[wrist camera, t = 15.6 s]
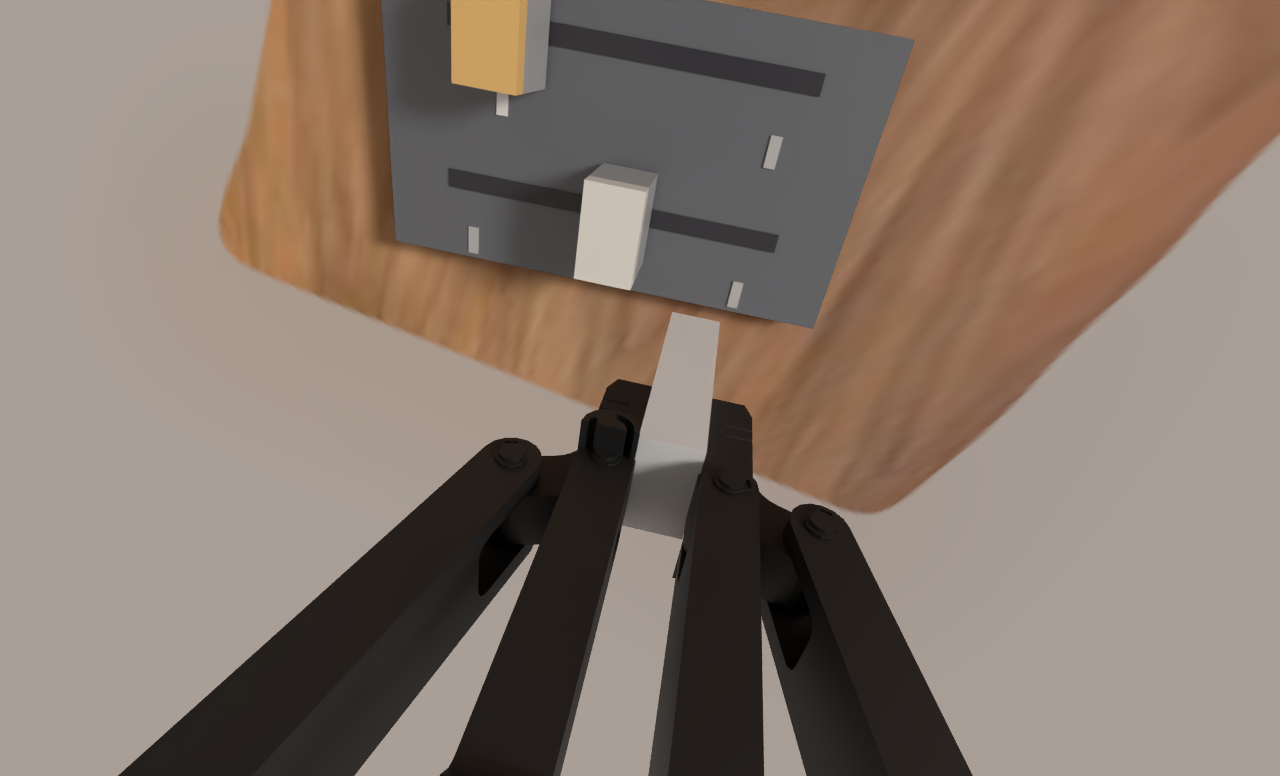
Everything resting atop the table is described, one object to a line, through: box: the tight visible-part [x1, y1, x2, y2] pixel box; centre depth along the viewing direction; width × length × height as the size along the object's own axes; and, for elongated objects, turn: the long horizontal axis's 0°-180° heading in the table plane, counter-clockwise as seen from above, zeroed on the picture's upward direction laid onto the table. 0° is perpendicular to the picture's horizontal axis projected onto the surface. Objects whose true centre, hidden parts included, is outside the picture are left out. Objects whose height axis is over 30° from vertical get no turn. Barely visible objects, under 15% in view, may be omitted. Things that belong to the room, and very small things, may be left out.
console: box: [381, 0, 915, 329], centre depth 32 cm, size 15×26×3 cm, turn 80°
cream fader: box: [574, 163, 658, 290], centre depth 31 cm, size 5×3×5 cm, turn 170°
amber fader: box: [451, 0, 551, 96], centre depth 27 cm, size 5×3×5 cm, turn 170°
